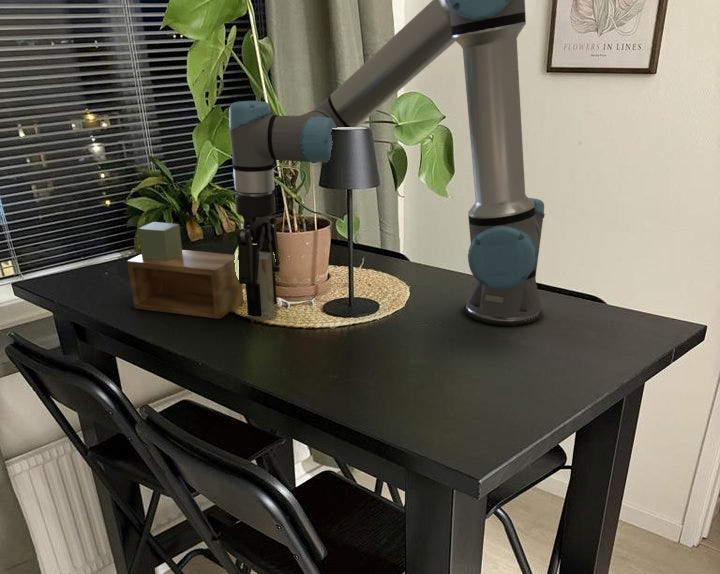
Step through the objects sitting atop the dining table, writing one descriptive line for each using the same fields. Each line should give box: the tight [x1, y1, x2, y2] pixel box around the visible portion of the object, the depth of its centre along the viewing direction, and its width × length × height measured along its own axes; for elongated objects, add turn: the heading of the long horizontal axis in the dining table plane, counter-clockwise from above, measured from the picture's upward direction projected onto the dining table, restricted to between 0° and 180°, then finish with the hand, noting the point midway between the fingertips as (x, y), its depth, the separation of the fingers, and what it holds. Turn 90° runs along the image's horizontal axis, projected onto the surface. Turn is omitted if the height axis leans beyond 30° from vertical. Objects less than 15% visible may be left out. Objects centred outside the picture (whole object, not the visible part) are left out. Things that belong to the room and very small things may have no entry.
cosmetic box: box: [250, 251, 276, 319], centre depth 153 cm, size 6×4×12 cm
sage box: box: [137, 221, 183, 261], centre depth 155 cm, size 6×6×6 cm
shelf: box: [126, 249, 244, 320], centre depth 158 cm, size 11×20×10 cm, turn 72°
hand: (262, 309), depth 155 cm, fingers closed on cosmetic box, 7 cm apart
